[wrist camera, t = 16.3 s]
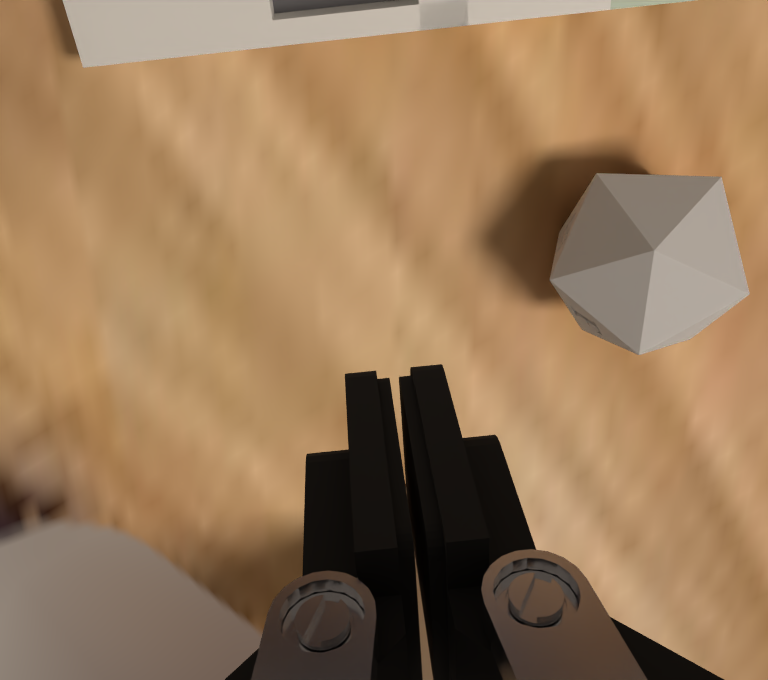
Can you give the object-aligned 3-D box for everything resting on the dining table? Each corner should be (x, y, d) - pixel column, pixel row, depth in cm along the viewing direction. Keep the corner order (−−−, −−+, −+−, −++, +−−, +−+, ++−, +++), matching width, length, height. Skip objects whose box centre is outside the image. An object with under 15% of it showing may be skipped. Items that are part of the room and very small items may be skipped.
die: (538, 137, 35) (512, 318, 32) (739, 98, 31) (736, 304, 27) (587, 231, 42) (570, 390, 38) (759, 210, 37) (759, 390, 33)
